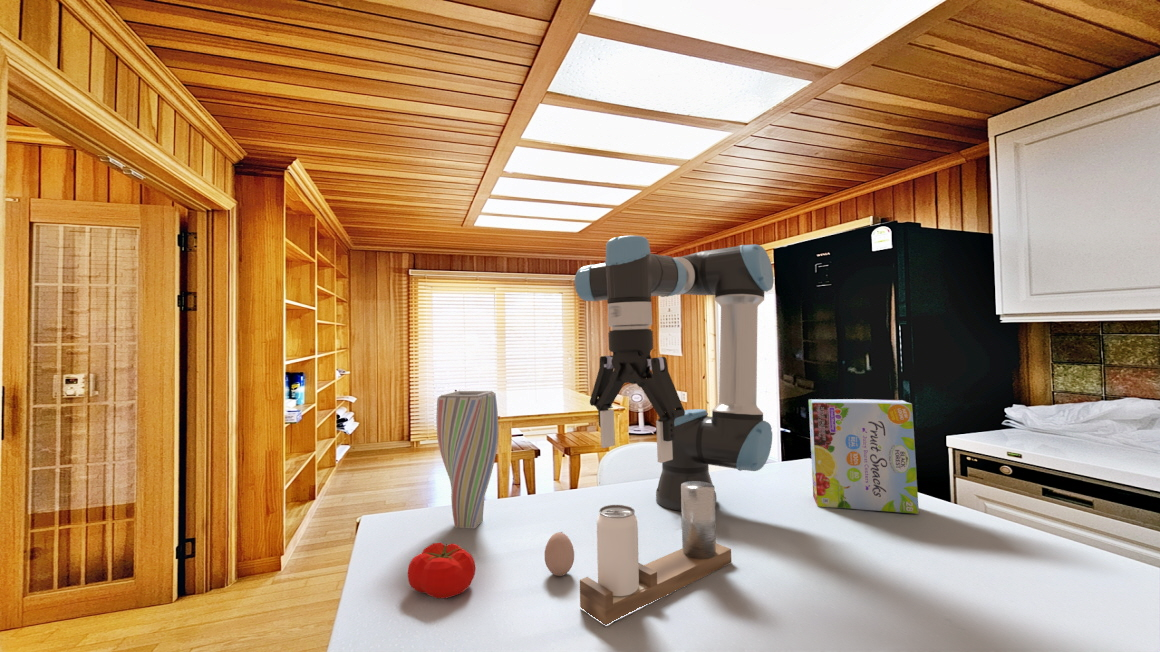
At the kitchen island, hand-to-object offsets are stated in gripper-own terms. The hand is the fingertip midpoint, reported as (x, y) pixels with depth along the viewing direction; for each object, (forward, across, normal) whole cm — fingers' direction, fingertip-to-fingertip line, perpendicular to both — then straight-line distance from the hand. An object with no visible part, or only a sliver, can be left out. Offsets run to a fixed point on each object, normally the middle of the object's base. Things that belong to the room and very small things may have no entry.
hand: (634, 453), depth 81 cm
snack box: (+24, +8, +69) cm, 73 cm away
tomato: (+22, -21, -26) cm, 40 cm away
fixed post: (+20, +2, +13) cm, 24 cm away
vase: (+22, -45, -10) cm, 51 cm away
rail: (+22, +2, +3) cm, 23 cm away
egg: (+22, -12, -8) cm, 27 cm away
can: (+20, +2, -7) cm, 21 cm away
